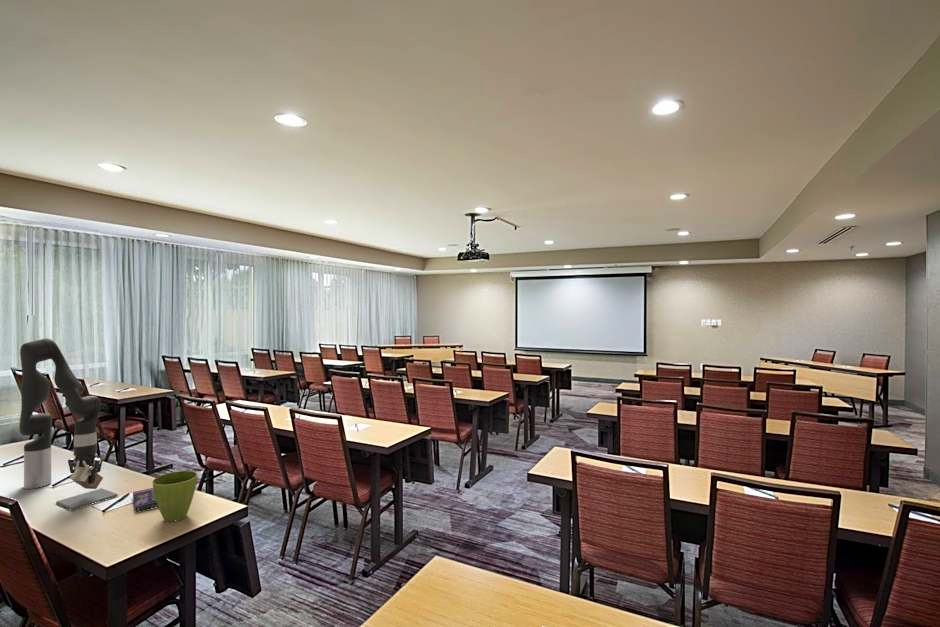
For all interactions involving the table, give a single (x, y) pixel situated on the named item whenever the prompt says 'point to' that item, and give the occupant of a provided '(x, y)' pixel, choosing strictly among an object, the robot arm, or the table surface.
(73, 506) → the mat
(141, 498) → the box
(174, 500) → the flower pot
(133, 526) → the table surface
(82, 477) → the block
